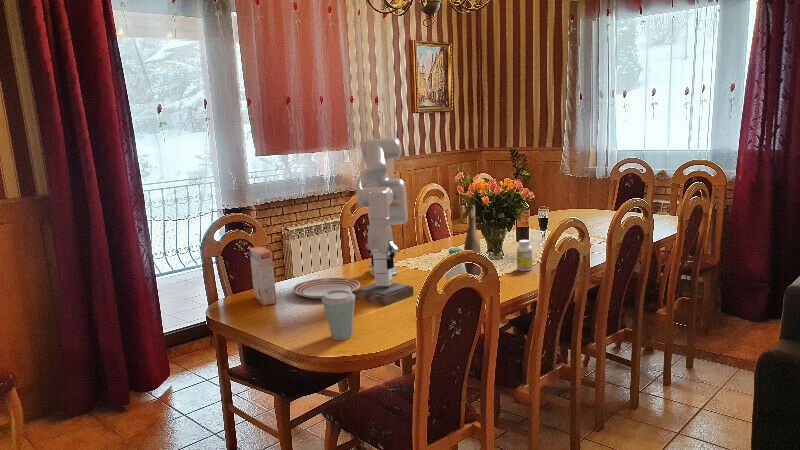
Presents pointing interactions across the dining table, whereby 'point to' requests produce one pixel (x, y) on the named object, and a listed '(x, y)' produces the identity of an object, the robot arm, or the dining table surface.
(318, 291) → the dinner plate
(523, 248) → the supplement bottle
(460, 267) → the milk bottle
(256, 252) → the cracker box
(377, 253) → the syrup box
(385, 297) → the podium
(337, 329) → the disposable coffee cup
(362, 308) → the dining table surface
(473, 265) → the grey vase
